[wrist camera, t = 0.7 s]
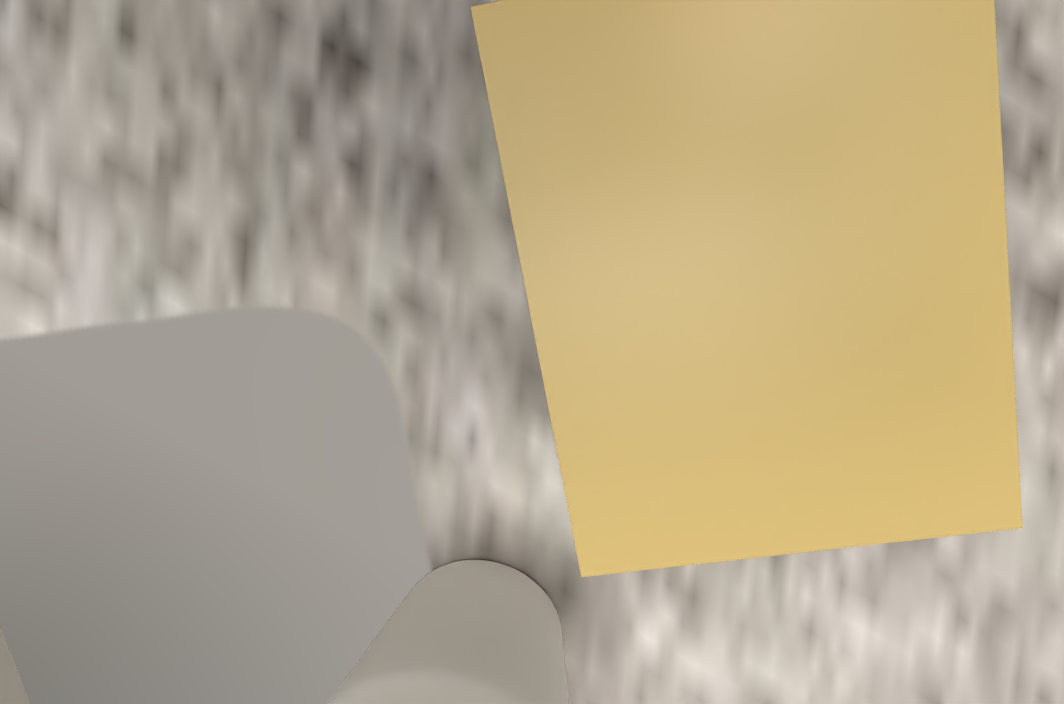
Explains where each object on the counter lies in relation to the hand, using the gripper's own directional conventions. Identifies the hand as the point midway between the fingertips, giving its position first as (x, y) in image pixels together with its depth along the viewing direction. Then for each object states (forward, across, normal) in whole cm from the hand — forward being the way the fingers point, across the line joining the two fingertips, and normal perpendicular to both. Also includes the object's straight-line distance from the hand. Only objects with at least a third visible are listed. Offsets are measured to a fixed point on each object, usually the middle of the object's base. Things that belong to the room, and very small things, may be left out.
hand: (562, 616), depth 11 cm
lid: (+17, +4, +1) cm, 18 cm away
